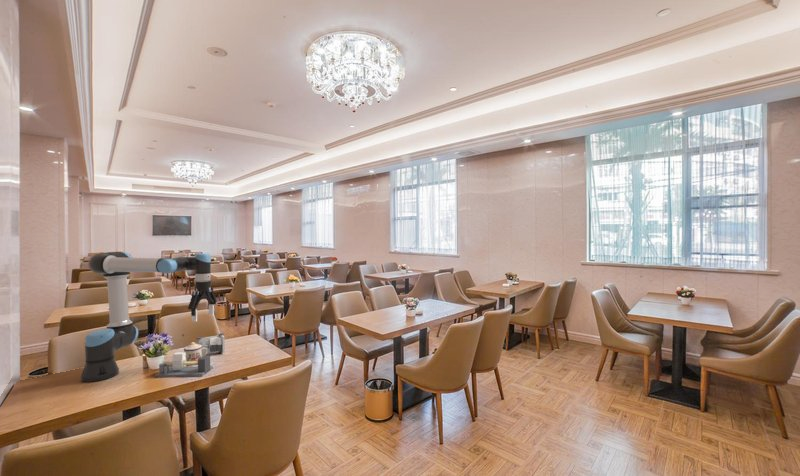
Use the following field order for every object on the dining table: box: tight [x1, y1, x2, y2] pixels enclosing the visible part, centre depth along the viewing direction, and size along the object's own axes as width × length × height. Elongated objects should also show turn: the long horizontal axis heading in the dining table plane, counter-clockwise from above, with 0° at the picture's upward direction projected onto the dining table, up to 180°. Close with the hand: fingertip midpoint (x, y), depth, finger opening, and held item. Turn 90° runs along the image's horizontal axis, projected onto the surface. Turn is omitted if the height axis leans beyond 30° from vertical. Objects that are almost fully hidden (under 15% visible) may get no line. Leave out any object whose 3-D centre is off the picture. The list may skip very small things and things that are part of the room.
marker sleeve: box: [171, 351, 187, 369], centre depth 189 cm, size 5×4×8 cm
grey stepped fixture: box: [155, 355, 214, 378], centre depth 189 cm, size 24×11×8 cm, turn 92°
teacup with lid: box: [183, 341, 208, 362], centre depth 205 cm, size 12×9×12 cm
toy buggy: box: [195, 332, 226, 355], centre depth 215 cm, size 18×10×12 cm, turn 129°
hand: (203, 318), depth 198 cm, fingers open, 13 cm apart
